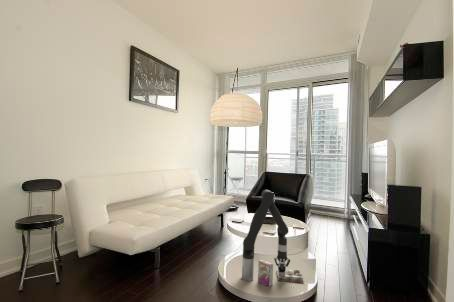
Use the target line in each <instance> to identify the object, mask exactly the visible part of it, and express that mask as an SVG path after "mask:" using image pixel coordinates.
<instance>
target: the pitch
mask: <svg viewBox="0 0 454 302" xmlns="http://www.w3.org/2000/svg"><path fill="white" fill-rule="evenodd" d="M275 273H276V277H277V281H278V282H284V283H285V282H286V283H296V284H304V283H305V282H304V277H303V273H302V272H301V269H297V268H296V269H293V274H292V275H289V274H288V271H285V276H279V274H278V270H276V271H275Z"/></svg>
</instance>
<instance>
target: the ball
mask: <svg viewBox="0 0 454 302" xmlns="http://www.w3.org/2000/svg"><path fill="white" fill-rule="evenodd" d="M287 272H288V274H289V275H292V274H293V272H294V270H292V269H288V271H287Z"/></svg>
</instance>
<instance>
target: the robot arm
mask: <svg viewBox="0 0 454 302" xmlns="http://www.w3.org/2000/svg"><path fill="white" fill-rule="evenodd" d="M260 196H261V198H262V200H261V203H260V205H259V207H258V208H257V210H256V211H255V213H254V215H253V216H252V220H251V222H250V226H249V229H248V233H247V235H246V236H245V237H244V239H243V241H242V249H243V250H242V267H241V269H242V270H241V280H242V281H245V282H252V281H253V280H254V267H255V266H254V265H255V263H254V262H255V260H254V259H255V243H256V240H257V237H258V235H259V233H260V231H261V229H262V227H263V224H264V223H265V219H266V216H267V215H268V211H269V213H270V214H271V217H272V219H273V222H274V223H275V224H276V225H277V229H276V231H277V232H276V233H277V237H278V240H277V256H276V257H273V260H274V263H275V266H277V271H278V270H279V271H280V264H281V263H284V272H285V271H286V268H287V267H289V265H290V262H291V258H288V238H287V237H286V235H288V234H289V227H288V226H287V223H286V222H285V221H284V218H283V217H282V214H281V213H280V211H279V209H278V208H277V206H276V204H275V202H274V198H275V196H274V193H273V192H272V191H271V190H269V189H264V190H262V192H261V195H260ZM277 260H278V261H277ZM286 272H287V271H286Z"/></svg>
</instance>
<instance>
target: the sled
mask: <svg viewBox="0 0 454 302" xmlns="http://www.w3.org/2000/svg"><path fill="white" fill-rule="evenodd" d="M277 271H278V274H279V276H285V272H284V263H281V264H280V271H279V270H278V269H277Z"/></svg>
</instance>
